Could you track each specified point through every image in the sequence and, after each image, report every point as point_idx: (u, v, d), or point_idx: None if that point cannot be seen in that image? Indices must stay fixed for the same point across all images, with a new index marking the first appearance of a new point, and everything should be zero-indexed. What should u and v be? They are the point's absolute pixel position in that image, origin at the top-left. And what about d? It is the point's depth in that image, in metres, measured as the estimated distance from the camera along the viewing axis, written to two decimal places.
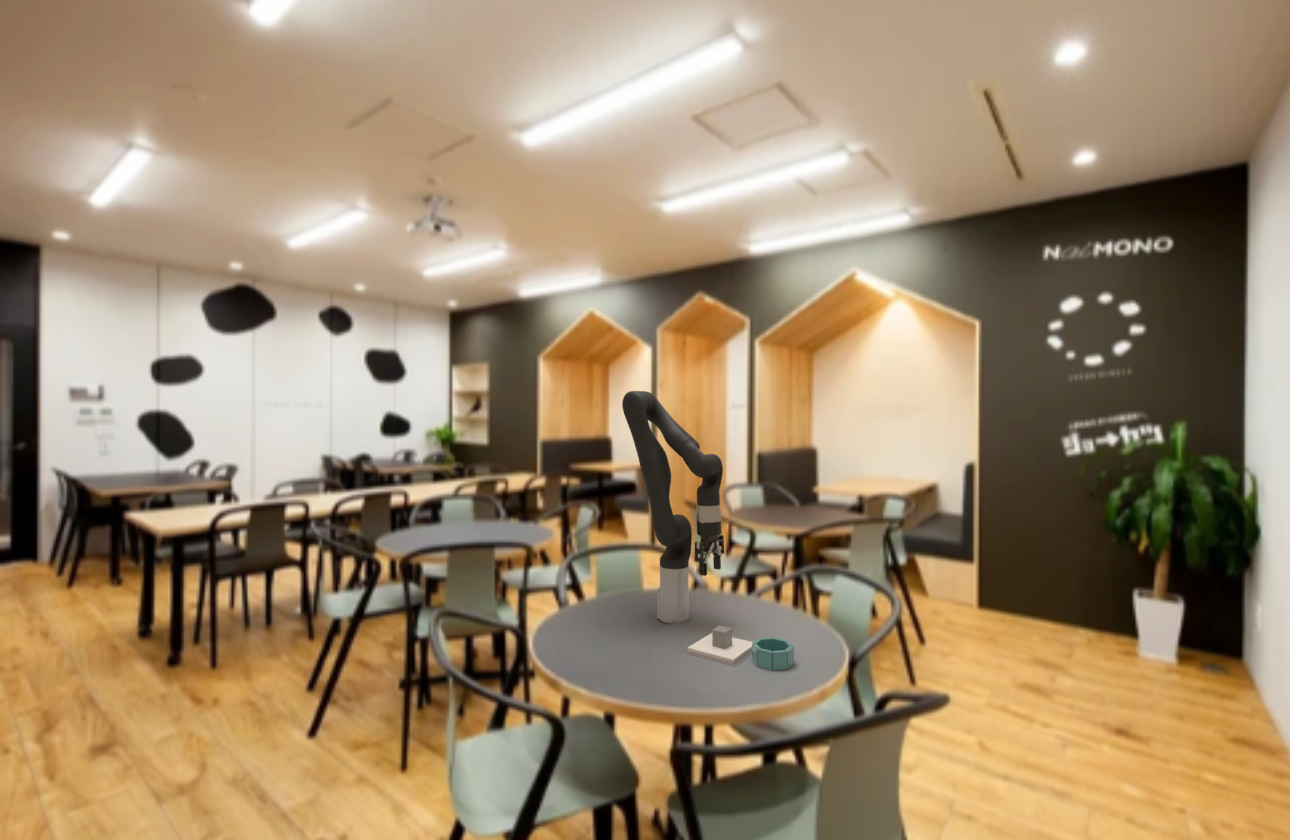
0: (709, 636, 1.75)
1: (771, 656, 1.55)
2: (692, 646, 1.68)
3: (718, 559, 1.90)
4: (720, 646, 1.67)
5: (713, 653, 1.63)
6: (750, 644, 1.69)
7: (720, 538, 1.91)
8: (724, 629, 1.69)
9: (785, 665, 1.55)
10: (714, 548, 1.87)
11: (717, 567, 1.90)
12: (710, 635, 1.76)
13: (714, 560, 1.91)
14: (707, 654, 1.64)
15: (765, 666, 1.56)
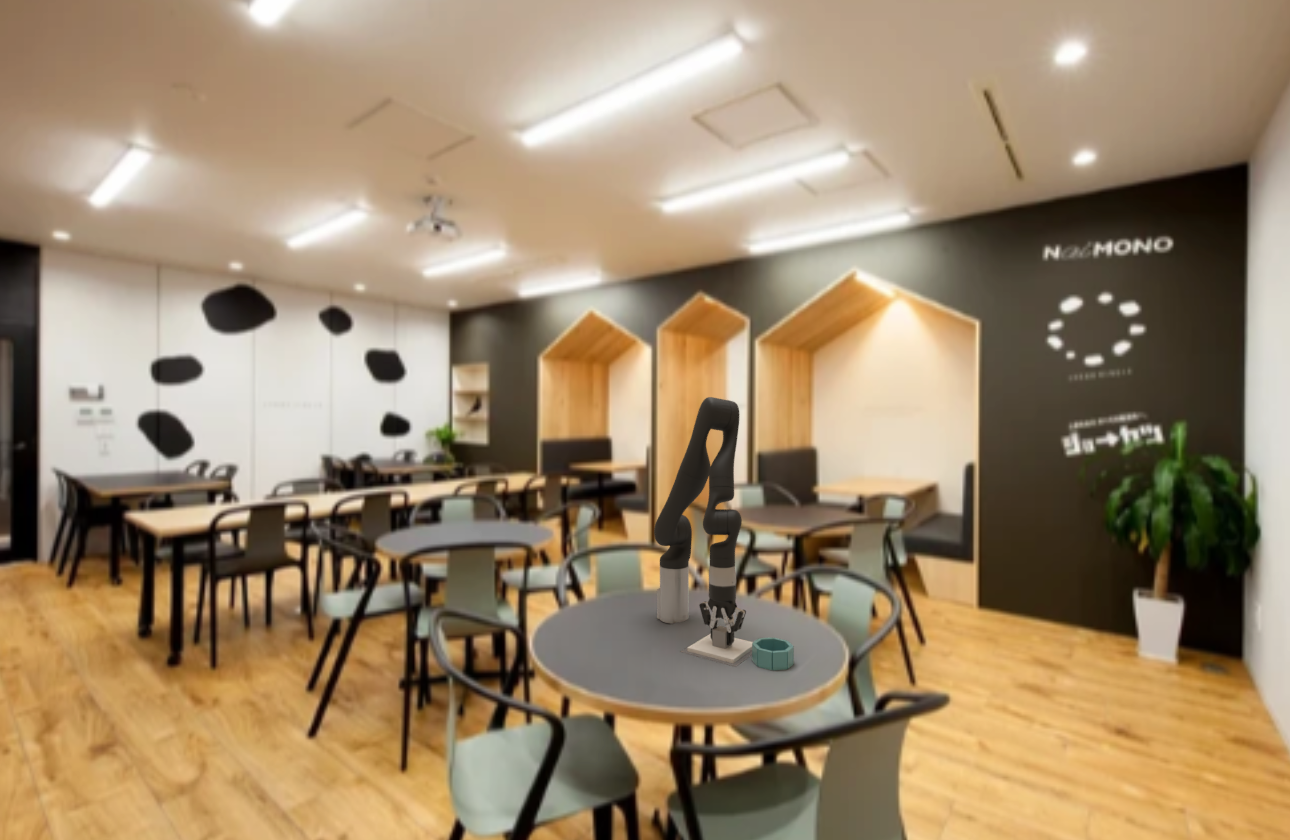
0: (709, 636, 1.75)
1: (771, 656, 1.55)
2: (692, 646, 1.68)
3: None
4: (720, 646, 1.67)
5: (713, 653, 1.63)
6: (750, 644, 1.69)
7: None
8: (724, 629, 1.69)
9: (785, 665, 1.55)
10: None
11: None
12: (710, 635, 1.76)
13: None
14: (707, 654, 1.64)
15: (765, 666, 1.56)
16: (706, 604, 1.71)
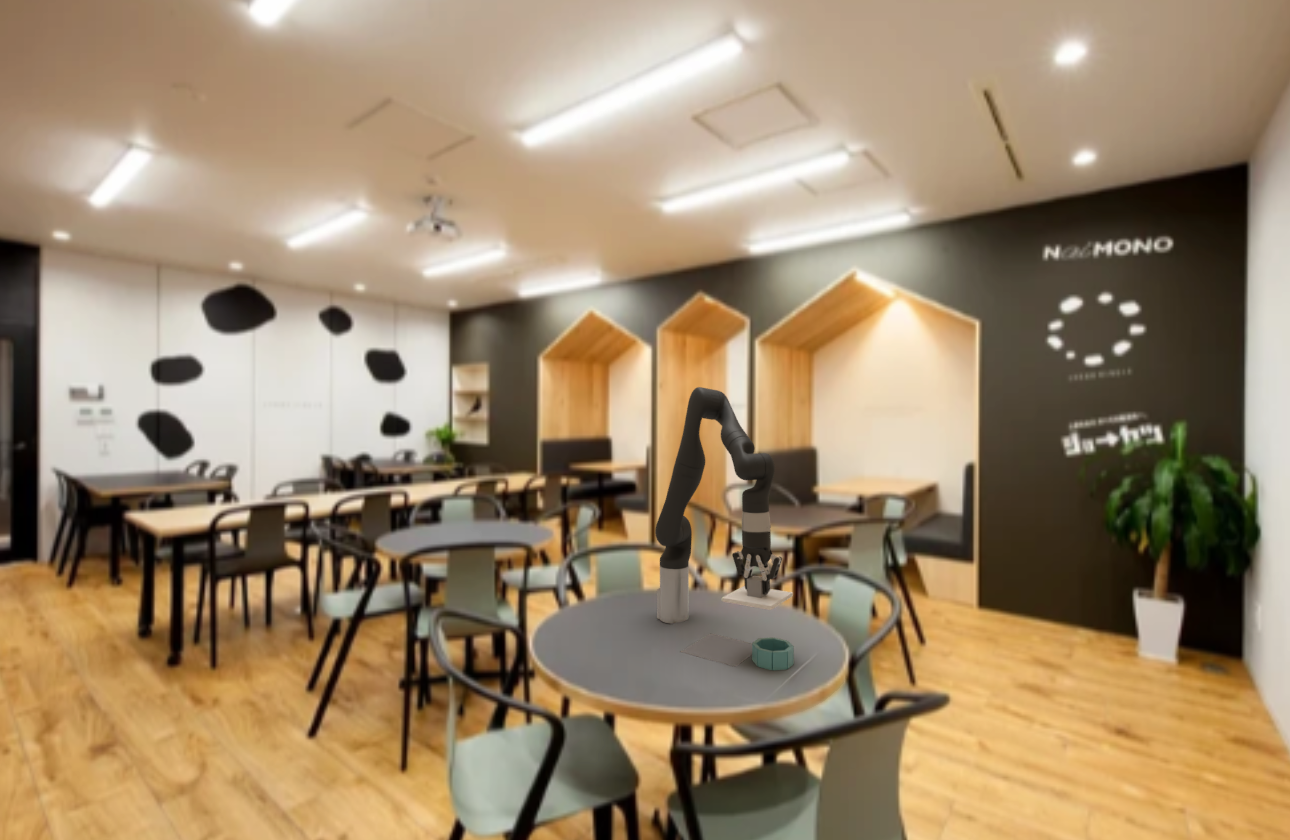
0: (742, 588, 1.69)
1: (771, 656, 1.55)
2: (726, 596, 1.61)
3: None
4: (755, 595, 1.60)
5: (749, 601, 1.57)
6: (786, 593, 1.63)
7: None
8: (759, 578, 1.62)
9: (785, 665, 1.55)
10: None
11: None
12: (743, 587, 1.70)
13: None
14: (743, 603, 1.57)
15: (765, 666, 1.56)
16: (739, 553, 1.65)
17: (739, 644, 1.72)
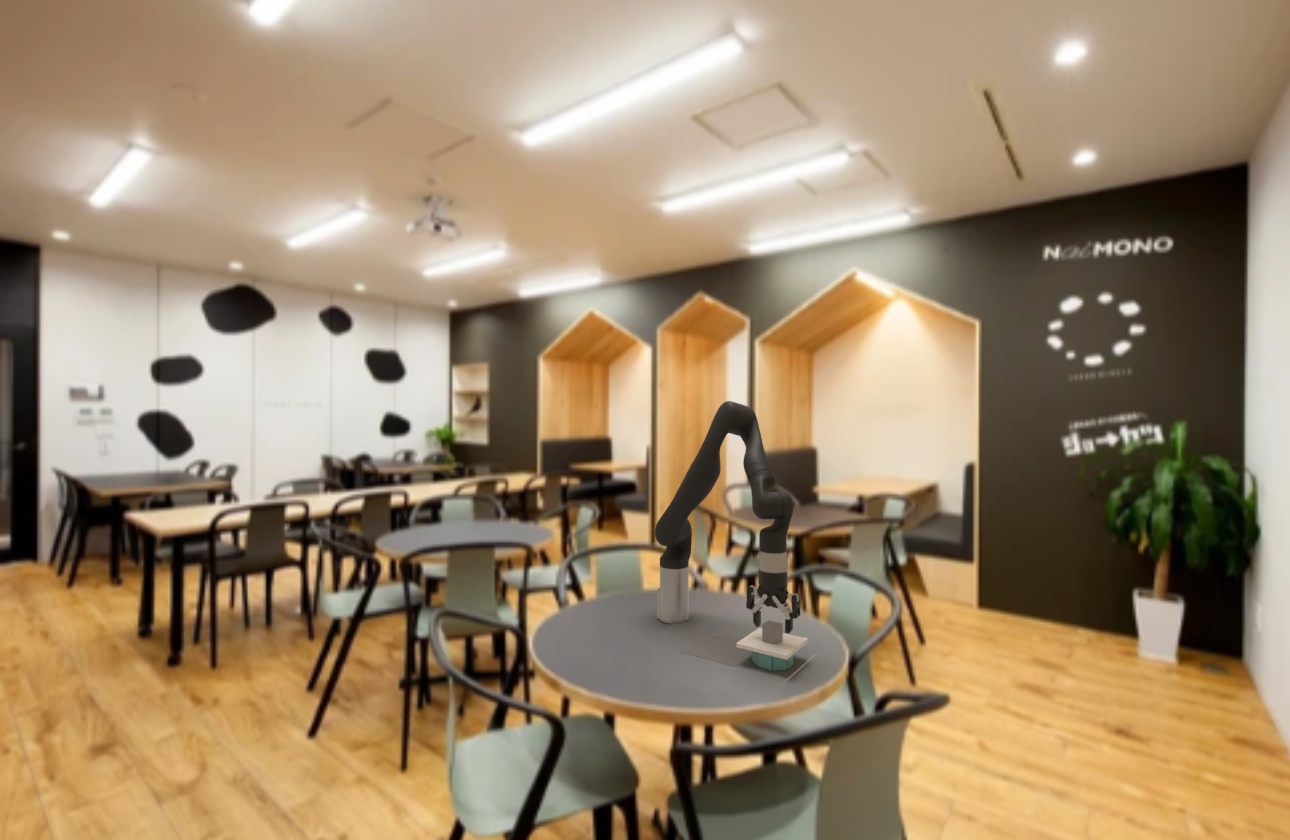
0: (757, 631, 1.67)
1: (771, 656, 1.55)
2: (741, 642, 1.59)
3: (760, 613, 1.63)
4: (771, 642, 1.58)
5: (765, 649, 1.54)
6: (802, 640, 1.61)
7: None
8: (774, 624, 1.60)
9: (785, 665, 1.55)
10: None
11: (759, 623, 1.63)
12: (757, 630, 1.67)
13: (757, 616, 1.62)
14: (758, 650, 1.55)
15: (765, 666, 1.56)
16: (754, 589, 1.62)
17: None
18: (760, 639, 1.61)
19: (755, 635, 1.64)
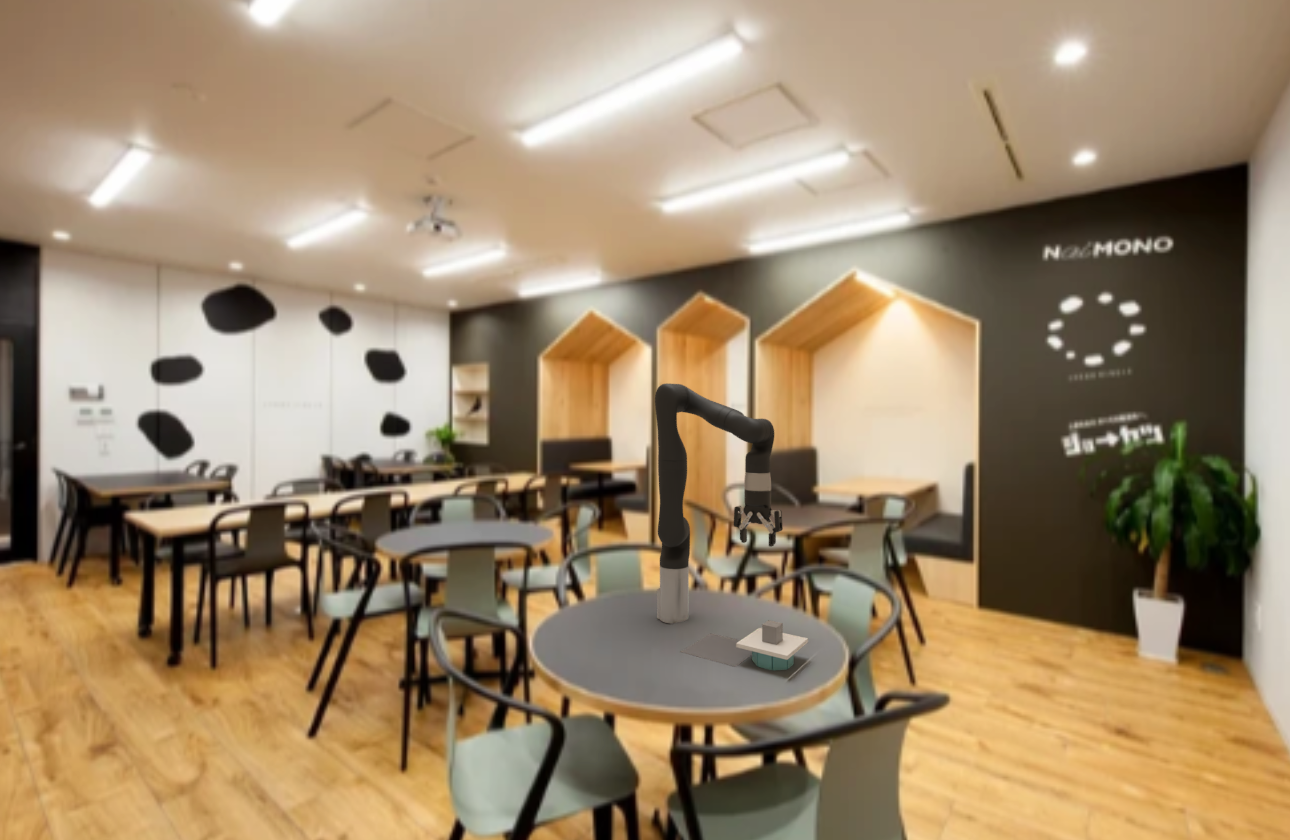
0: (757, 631, 1.67)
1: (771, 656, 1.55)
2: (741, 642, 1.59)
3: (746, 531, 1.78)
4: (771, 642, 1.58)
5: (765, 649, 1.54)
6: (802, 640, 1.61)
7: None
8: (774, 624, 1.60)
9: (785, 665, 1.55)
10: None
11: (745, 540, 1.78)
12: (757, 630, 1.67)
13: (744, 533, 1.77)
14: (758, 650, 1.55)
15: (765, 666, 1.56)
16: (741, 509, 1.78)
17: None
18: (760, 639, 1.61)
19: (755, 635, 1.64)
